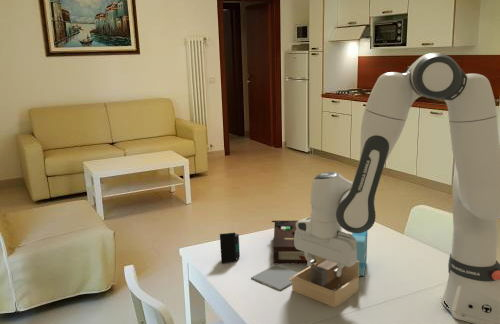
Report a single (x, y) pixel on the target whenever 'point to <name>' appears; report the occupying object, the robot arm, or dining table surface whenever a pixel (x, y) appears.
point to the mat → (275, 277)
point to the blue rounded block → (361, 250)
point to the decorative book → (287, 244)
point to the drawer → (329, 297)
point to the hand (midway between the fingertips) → (323, 270)
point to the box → (325, 275)
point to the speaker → (229, 247)
